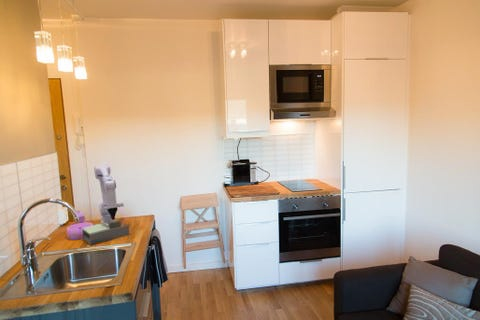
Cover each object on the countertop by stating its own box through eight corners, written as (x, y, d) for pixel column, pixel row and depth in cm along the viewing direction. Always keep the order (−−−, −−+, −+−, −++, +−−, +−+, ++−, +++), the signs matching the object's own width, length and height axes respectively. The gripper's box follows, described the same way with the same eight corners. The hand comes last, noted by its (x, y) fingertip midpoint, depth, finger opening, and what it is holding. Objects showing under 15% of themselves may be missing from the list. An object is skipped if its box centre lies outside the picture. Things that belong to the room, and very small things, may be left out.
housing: (83, 239, 195) (82, 229, 194) (120, 229, 211) (120, 220, 210) (90, 245, 185) (89, 235, 184) (129, 234, 201) (128, 225, 200)
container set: (94, 236, 199) (92, 217, 197) (67, 242, 192) (65, 221, 190) (91, 225, 221) (90, 208, 219) (67, 230, 213) (65, 211, 212)
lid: (82, 229, 194) (81, 224, 194) (101, 224, 202) (101, 220, 202) (89, 235, 184) (89, 230, 183) (110, 229, 192) (109, 225, 192)
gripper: (102, 202, 190) (104, 223, 192) (124, 197, 200) (126, 217, 202) (98, 200, 195) (100, 221, 197) (120, 196, 205) (122, 215, 207)
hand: (113, 219), depth 200 cm, fingers closed
